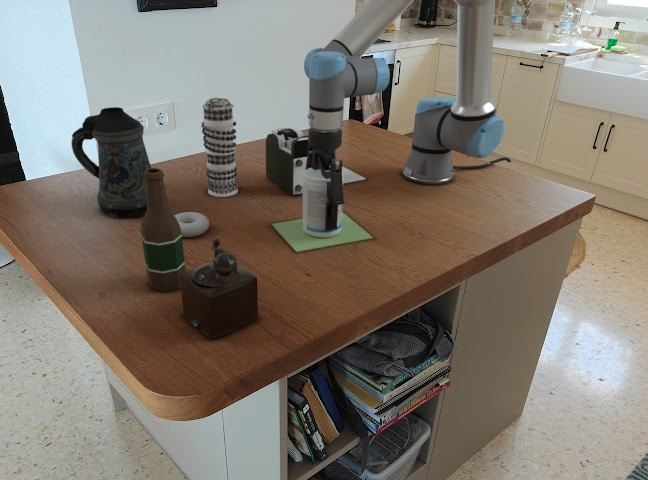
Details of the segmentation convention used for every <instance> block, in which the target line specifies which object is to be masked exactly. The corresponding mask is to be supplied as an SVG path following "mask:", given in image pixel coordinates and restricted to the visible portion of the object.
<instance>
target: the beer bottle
mask: <svg viewBox="0 0 648 480" xmlns="http://www.w3.org/2000/svg"><path fill="white" fill-rule="evenodd" d="M151 168H152V169H147V170H146V171H144V175H143V176H144V177H145V179H146V192H147V212H146V214H145V216H143V218H142V220H141V224H140V235H141V236H140V237H141V242H142V249H143V250H142V251H143V254H144V263H145V269H146V276H147V279H148V283H149V285H150V287H151V288H152V290H154V291H158V292H163V293H168V292H172V291H176V290H181V285H180V273H181V272H184V271H187V270H186V260H185V252H184V241H183V237H182V233H181V228H180V225H179V223H178V221H177V219H176V217H175V216H174V215H175V214H174V213H173V212H172V211H171V210H170V209H171V208H170V206H169V203H168V198H167V197H168V196H167V193H166V186H165V182H164V177H165V173H164V171H163V170H162V169H161V168H157V167H151Z"/></svg>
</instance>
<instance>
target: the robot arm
mask: <svg viewBox="0 0 648 480" xmlns="http://www.w3.org/2000/svg"><path fill="white" fill-rule="evenodd" d="M414 1H415V0H368V2H367V3H366V4H365V5H364V6H363V7H361V9H360V10H359V11H358V12H357V13H356V14H355V15H354V16H353V18H351V19H350V21H349V22H347V24H346V25H345V26H344V27H343V28H342V29H341V30H340V31H339V32H338V33H337V34H336V35H335V37H333V38H332V40H331V41H330V42H328V43H327V44H326V46H325V47H324V48H321V47H319V48H317V47H316V48H313V49H311V50H310V51H309V52H308V53H307V54H306V55H305V58H304V61H303V70H304V74H305V76H306V77H307V78H308V81H309V82H308V83H309V84H308V87H309V88H308V91H309V92H308V98H309V99H308V114H307V119H308V126H309V129H308V131H307V133H308V134H307V136H308V144H309V145H308V147H307V150H308V155H307V162H306V169H305V170H307V169H309V168H312V169H313V170H318V169H321V175H322V176H324V178H325V179H330V182H327V198H328V203H326V222H325V230H326V231H329V230H335V229H337V217H338V205H342V206H343V205H344V204H345V199H344V197H345V196H344V184H343V181H342V166H343V160H342V159H337V155H336V150H337V149H339V148H340V147H341V146H342V143H343V142H342V140H343V130H342V128H343V125H344V105H345V99H349V98H355V97H363V96H373V95H376V94H378V93H379V94H380V93H382V92H384V91H385V90H386V89H387V88H388V85H389V84H390V77H391V76H390V75H391V72H390V67H389V64H388V62H387V61H386V60H384V59H383V58H381V57H372V56H371V57H367V58H364V57H363V58H362V56H363V55H364V54H365V53H366V52H367V51H368V50H369V49H370V48H371V47H372V46H373V45H374V43H376V41H377V40H378V39H379V38H381V36H382V35H383V34H384V33H385V32H386V31H387V30H388V29H389V27H390V26H391V25H392V24H394V22H395V21H396V20H397V19H398V18H399V17H400V16H401V15H402V14H403V13H404V12H405V11H406V10H407V9H408V7H409V6H410V5H411V4H413V2H414ZM453 2H454V3H455V4H456V5H457V15H456V17H457V18H456V19H457V22H456V23H457V25H456V27H457V28H456V29H457V30H456V97H452V96H435V97H426V98H422V99H420V100H419V101H417V102H418V103H417V105H416V109H415V114H414V121H413V122H414V123H413V133H412V141H411V150H410V151H409V155H408V156H407V159H406V160H405V164H404V165H403V169H402V176H403V178H405V179H406V180H407V181H410V182H413V183H417V184H421V185H444V184H448V183H450V182H452V181H453V180H454V172H455V170H477V169H483V168H487V167H490V166H492V165H493V164H497V163H500V162H503V161H506V162H507V163H512V160H511V159H510V158H509V157H506V156H504V157H499V158H497V159H494V160H490V161H489V162H487V163H484V164H479V165H454V164H453V159H452V151H453V152H456V153H459V154H463V155H465V156H466V157H468V158H474V159H485V158H486V157H488V156H490V155H491V154H492V153H493V152H494V151H495V150H496V149H497V147H498V146H499V144H500V143H501V141H502V139H503V136H504V133H505V122H504V120H503V118H501V117H500V116H499V115H497V104H496V102H495V101H494V100H493V99H492V98H491V95H492V94H491V93H492V75H493V74H492V71H493V53H494V52H493V49H494V32H495V31H494V30H495V11H496V10H495V9H496V6H495V5H496V0H453ZM488 163H490V164H488ZM329 170H330V171H329Z"/></svg>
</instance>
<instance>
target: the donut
mask: <svg viewBox="0 0 648 480" xmlns="http://www.w3.org/2000/svg"><path fill="white" fill-rule="evenodd" d="M173 215H174V216H175V217H176V219H177V221H178V223H179V225H180V228H181V233H182V238H195V237H198V236H201V235H203V234H204V233H206V231H208V230H209V227H210V221H209V219H208V217H207V216H205V215H204V214H203V213H201V212H195V211H185V212H181V213H180V212H179V213H177V214H173Z"/></svg>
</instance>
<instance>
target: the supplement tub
mask: <svg viewBox="0 0 648 480" xmlns="http://www.w3.org/2000/svg"><path fill="white" fill-rule="evenodd" d="M329 171H330V170H329ZM342 181H343V173H342ZM327 182H330V179H325V178H324V176H322V175H321V169H318V170H313V169H312V168H309V169H307V170H305V171H304V173H303V194H302V219H303V220H302V224H303V230H304V232H305V233H307V234H308V235H311V236H314V237H320V238H324V237H331V236H334V235H336V234H338V233H339V232H340V231H341V223H342V213H343V204H342V205H338V217H337V229H335V230H329V231H326V230H325V222H326V203H328V198H327Z"/></svg>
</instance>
